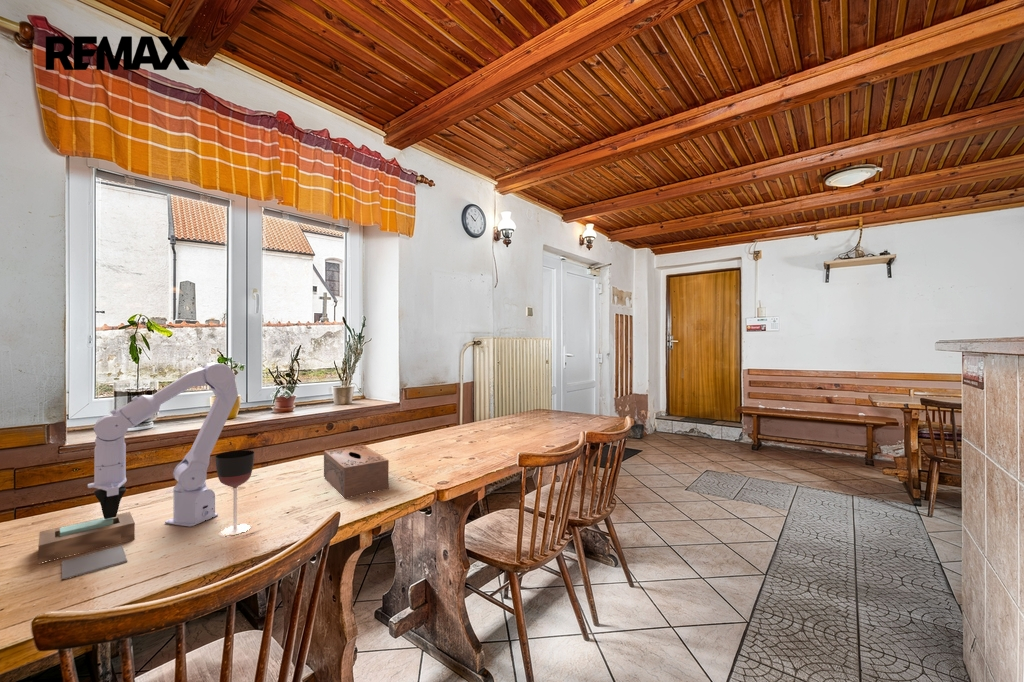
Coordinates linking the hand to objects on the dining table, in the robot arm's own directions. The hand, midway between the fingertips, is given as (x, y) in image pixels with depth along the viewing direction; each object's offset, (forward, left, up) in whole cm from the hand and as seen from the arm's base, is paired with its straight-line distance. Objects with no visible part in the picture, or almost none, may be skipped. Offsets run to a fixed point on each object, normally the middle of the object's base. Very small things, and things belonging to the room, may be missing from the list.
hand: (110, 517), depth 105 cm
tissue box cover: (-34, -52, -6) cm, 62 cm away
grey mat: (-10, +9, -5) cm, 14 cm away
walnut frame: (+2, +3, -5) cm, 6 cm away
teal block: (+2, +4, -2) cm, 5 cm away
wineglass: (-26, -12, -6) cm, 29 cm away
